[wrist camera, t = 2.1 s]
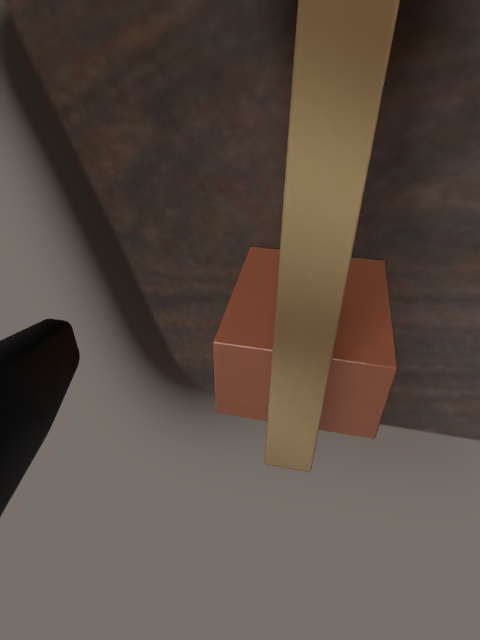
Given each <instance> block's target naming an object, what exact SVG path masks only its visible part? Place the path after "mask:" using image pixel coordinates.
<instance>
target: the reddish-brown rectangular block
mask: <svg viewBox="0 0 480 640" xmlns="http://www.w3.org/2000/svg"><path fill="white" fill-rule="evenodd" d="M279 254H280V250H279V249H269V248H260V247H250V248H249V251H248V254H247V256H246V259H245V261H244V264H243V266H242V269H241V272H240V274H239V277H238V279H237V282H236V284H235V287H234V290H233V292H232V295H231V297H230V300H229V302H228V305H227V308H226V310H225V313H224V315H223V318H222V320H221V323H220V326H219V328H218V331H217V333H216V336H215V338H214V341H213V357H214V383H215V409H216V412H217V413H222V414H228V415H234V416H240V417H246V418H252V419H258V420H264V421H267V419H268V405H269V391H270V378H271V364H272V350H273V337H274V323H275V309H276V296H277V282H278V268H279ZM396 371H397V362H396V354H395V345H394V336H393V328H392V319H391V310H390V302H389V293H388V284H387V276H386V267H385V261H383V260H373V259H364V258H354V257H351V262H350V267H349V272H348V277H347V283H346V288H345V293H344V299H343V304H342V309H341V314H340V320H339V325H338V330H337V336H336V341H335V346H334V352H333V357H332V362H331V367H330V373H329V378H328V383H327V389H326V394H325V399H324V404H323V410H322V415H321V420H320V426H319V430H324V431H330V432H336V433H342V434H348V435H354V436H361V437H366V438H372V439H374V438H375V437H376V434H377V430H378V427H379V424H380V421H381V418H382V415H383V412H384V408H385V405H386V402H387V399H388V396H389V393H390V390H391V386H392V383H393V380H394V377H395V374H396Z"/></svg>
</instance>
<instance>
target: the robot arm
mask: <svg viewBox="0 0 480 640" xmlns="http://www.w3.org/2000/svg"><path fill="white" fill-rule="evenodd" d="M79 358H80V357H79V350H78V347H77V343H76V340H75V336H74V333H73V330H72V327H71V325H70V324H69V322H66V321H63V320H55V319H46V320H43V321H41V322H39V323H37V324H35V325H33V326H31V327H29V328H26V329H24V330H22V331H20V332H18V333H16V334H14V335H11V336H9V337H7V338H5V339H3V340H1V341H0V516H1V514H2V513H3V511H4V509H5V508H6V506H7V504H8V502H9V501H10V499H11V497H12V495H13V494H14V492H15V490H16V488H17V487H18V485H19V483H20V481H21V480H22V478H23V476H24V474H25V473H26V471H27V469H28V467H29V466H30V464H31V462H32V460H33V459H34V457H35V455H36V453H37V451H38V450H39V448H40V446H41V445H42V443H43V441H44V439H45V437H46V436H47V434H48V432H49V430H50V428H51V425H52V423H53V421H54V419H55V417H56V414H57V412H58V410H59V407H60V405H61V403H62V401H63V398H64V396H65V394H66V391H67V389H68V387H69V385H70V382H71V380H72V378H73V375H74V373H75V371H76V369H77V366H78V363H79Z"/></svg>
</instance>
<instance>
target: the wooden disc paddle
mask: <svg viewBox="0 0 480 640" xmlns="http://www.w3.org/2000/svg"><path fill="white" fill-rule="evenodd" d="M399 2H400V0H298V8H297V21H296V35H295V49H294V63H293V76H292V90H291V104H290V117H289V131H288V145H287V158H286V172H285V186H284V200H283V213H282V227H281V241H280V254H279V268H278V282H277V296H276V309H275V323H274V337H273V350H272V364H271V378H270V391H269V405H268V419H267V433H266V447H265V461H264V462H265V464H267V465H273V466H279V467H284V468H289V469H295V470H300V471H305V472H310V471H311V468H312V462H313V457H314V452H315V446H316V441H317V436H318V431H319V426H320V420H321V415H322V410H323V404H324V399H325V394H326V389H327V383H328V378H329V373H330V367H331V362H332V357H333V352H334V346H335V341H336V336H337V330H338V325H339V320H340V314H341V309H342V304H343V299H344V293H345V288H346V283H347V277H348V272H349V267H350V262H351V256H352V251H353V246H354V240H355V235H356V230H357V225H358V219H359V214H360V209H361V203H362V198H363V193H364V188H365V182H366V177H367V172H368V166H369V161H370V156H371V150H372V145H373V140H374V135H375V129H376V124H377V119H378V113H379V108H380V103H381V98H382V92H383V87H384V82H385V76H386V71H387V66H388V61H389V55H390V50H391V45H392V39H393V34H394V29H395V24H396V18H397V13H398V8H399Z"/></svg>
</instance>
